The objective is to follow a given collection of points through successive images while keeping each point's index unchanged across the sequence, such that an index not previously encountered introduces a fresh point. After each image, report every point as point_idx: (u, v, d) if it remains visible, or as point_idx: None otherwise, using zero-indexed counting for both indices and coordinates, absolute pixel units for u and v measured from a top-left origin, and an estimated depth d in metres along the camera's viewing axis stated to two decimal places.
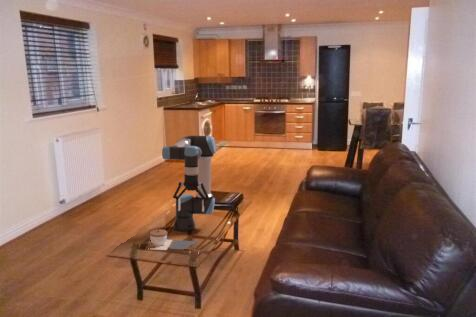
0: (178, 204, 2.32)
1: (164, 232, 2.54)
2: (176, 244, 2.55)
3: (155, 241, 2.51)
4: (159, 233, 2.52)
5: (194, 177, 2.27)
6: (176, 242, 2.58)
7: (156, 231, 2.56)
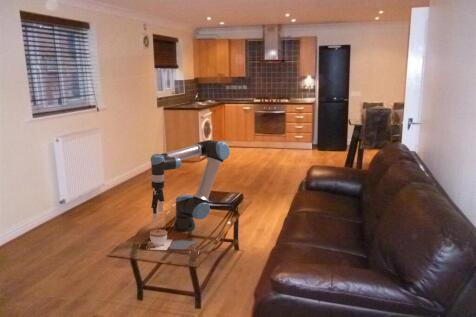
0: None
1: (164, 232, 2.54)
2: (176, 244, 2.55)
3: (155, 241, 2.51)
4: (159, 233, 2.52)
5: (152, 183, 2.47)
6: (176, 242, 2.58)
7: (156, 231, 2.56)
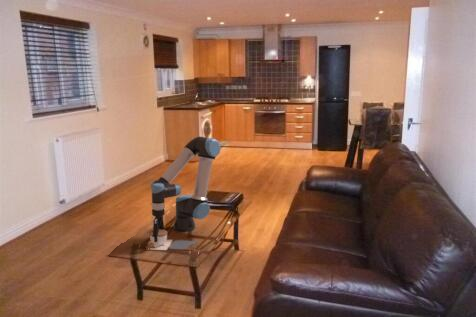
0: None
1: (164, 232, 2.54)
2: (176, 244, 2.55)
3: None
4: (159, 233, 2.52)
5: (152, 211, 2.50)
6: (176, 242, 2.58)
7: None
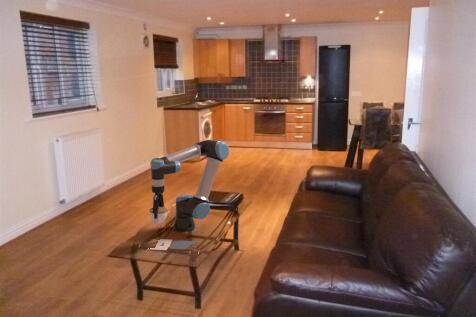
0: None
1: (164, 209, 2.52)
2: (176, 244, 2.55)
3: None
4: (159, 210, 2.50)
5: (152, 188, 2.48)
6: (176, 242, 2.58)
7: None
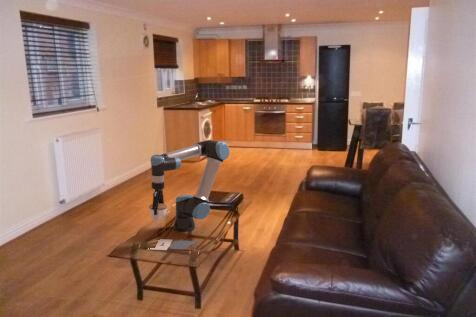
0: None
1: (164, 206, 2.51)
2: (176, 244, 2.55)
3: None
4: (159, 206, 2.49)
5: (152, 184, 2.48)
6: (176, 242, 2.58)
7: None
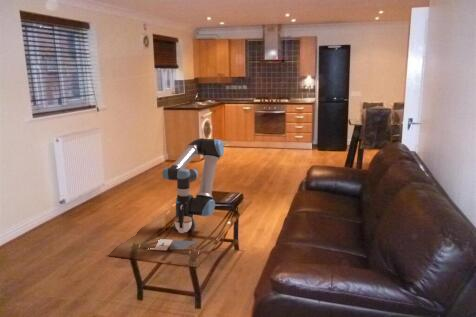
0: None
1: (189, 218, 2.52)
2: (176, 244, 2.55)
3: None
4: (184, 219, 2.49)
5: (177, 197, 2.48)
6: (176, 242, 2.58)
7: None
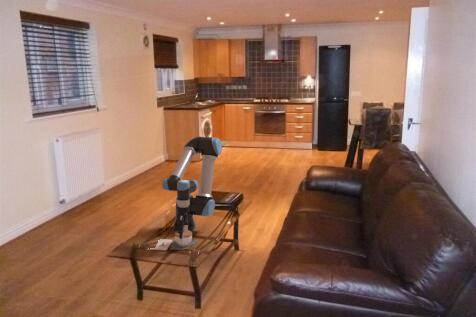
0: (183, 229, 2.61)
1: (189, 233, 2.53)
2: (176, 244, 2.55)
3: None
4: (184, 234, 2.51)
5: (177, 208, 2.49)
6: None
7: None
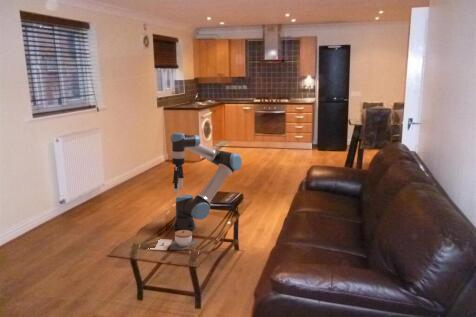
0: None
1: (189, 233, 2.53)
2: (176, 244, 2.55)
3: (180, 242, 2.50)
4: (184, 234, 2.51)
5: (173, 160, 2.56)
6: None
7: (181, 232, 2.55)
